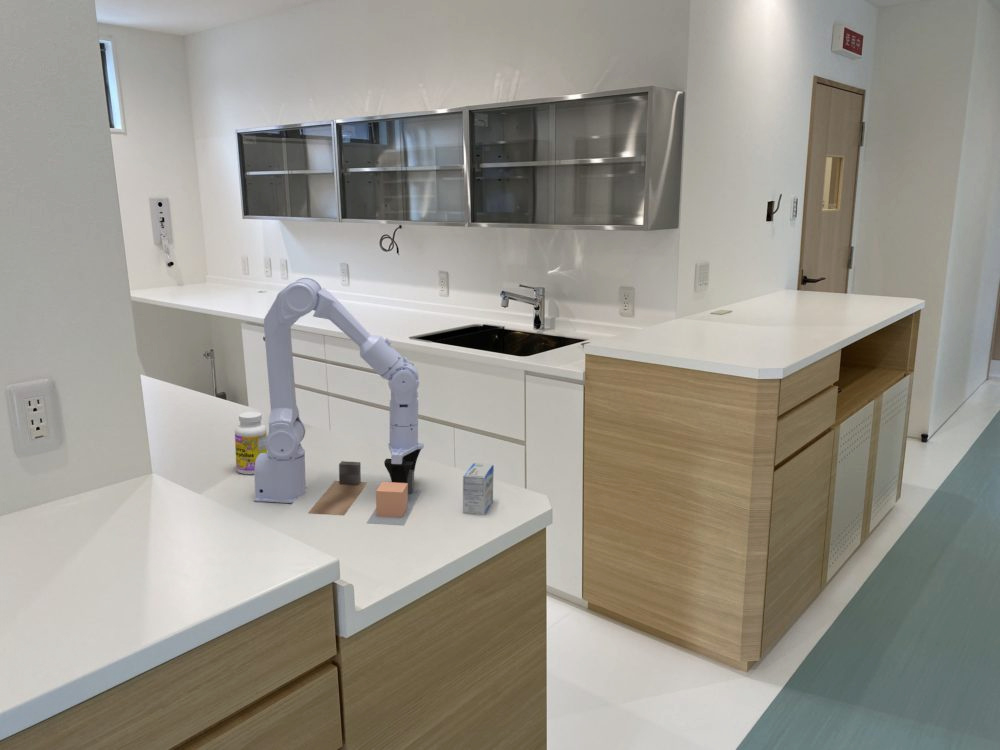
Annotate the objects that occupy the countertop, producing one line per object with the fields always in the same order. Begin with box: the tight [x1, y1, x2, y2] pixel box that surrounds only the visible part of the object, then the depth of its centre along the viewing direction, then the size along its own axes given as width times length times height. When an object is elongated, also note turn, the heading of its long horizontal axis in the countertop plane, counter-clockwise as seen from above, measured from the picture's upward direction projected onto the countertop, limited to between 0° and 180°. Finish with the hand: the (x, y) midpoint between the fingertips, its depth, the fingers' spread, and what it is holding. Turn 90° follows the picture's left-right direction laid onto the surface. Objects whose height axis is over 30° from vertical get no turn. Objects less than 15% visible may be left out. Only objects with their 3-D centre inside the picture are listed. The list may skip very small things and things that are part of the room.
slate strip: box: [366, 470, 422, 527], centre depth 147 cm, size 7×18×5 cm, turn 176°
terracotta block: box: [375, 481, 408, 518], centre depth 144 cm, size 5×5×5 cm
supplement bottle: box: [234, 411, 268, 475], centre depth 166 cm, size 7×7×13 cm
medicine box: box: [462, 462, 495, 516], centre depth 147 cm, size 8×4×9 cm, turn 168°
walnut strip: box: [307, 460, 368, 516], centre depth 150 cm, size 7×18×5 cm, turn 176°
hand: (403, 486), depth 155 cm, fingers open, 7 cm apart
